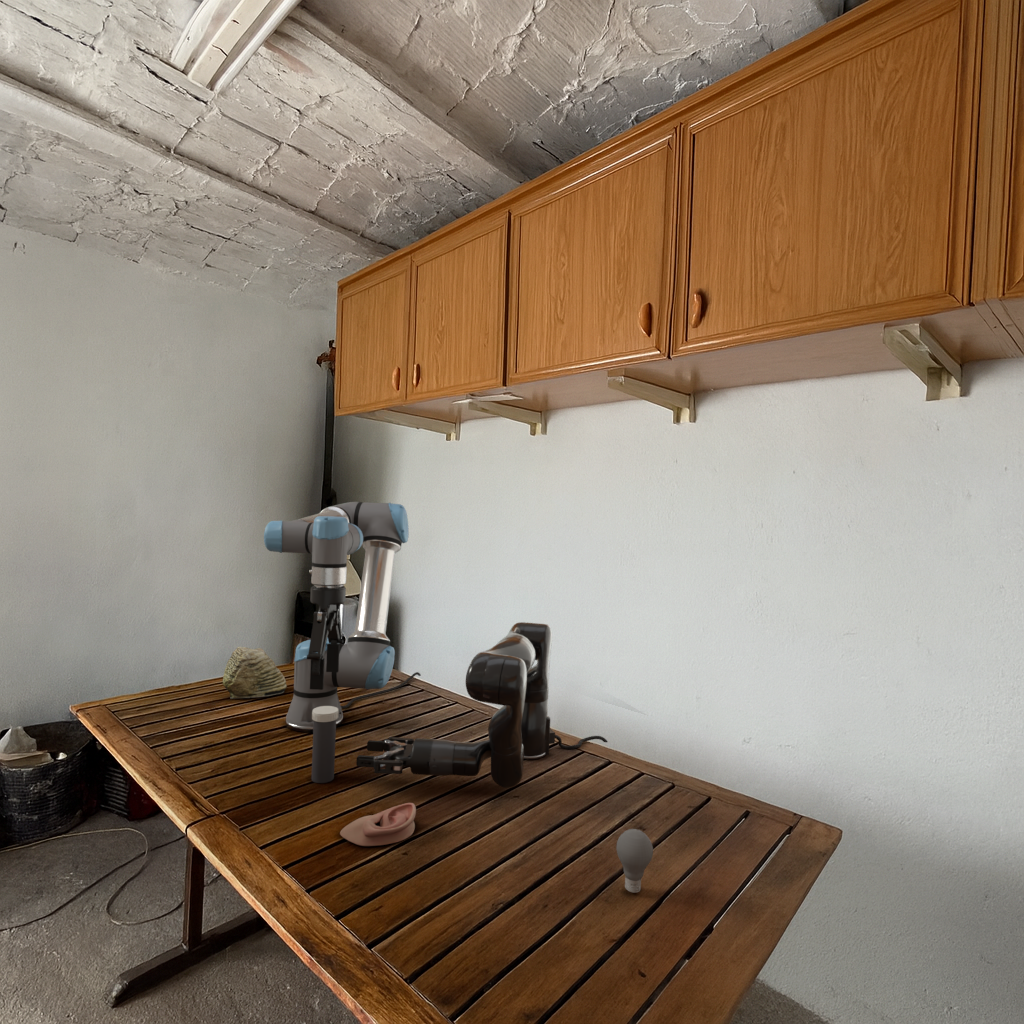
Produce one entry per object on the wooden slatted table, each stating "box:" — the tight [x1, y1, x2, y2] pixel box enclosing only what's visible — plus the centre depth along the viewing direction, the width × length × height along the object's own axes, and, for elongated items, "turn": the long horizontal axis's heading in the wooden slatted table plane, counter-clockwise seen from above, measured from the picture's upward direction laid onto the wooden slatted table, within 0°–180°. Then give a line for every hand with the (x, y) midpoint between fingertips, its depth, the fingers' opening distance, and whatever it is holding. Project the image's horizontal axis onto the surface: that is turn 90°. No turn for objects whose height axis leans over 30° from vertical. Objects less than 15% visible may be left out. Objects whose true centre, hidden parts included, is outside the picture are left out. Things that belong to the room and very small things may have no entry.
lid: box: [312, 706, 339, 722], centre depth 142 cm, size 6×6×2 cm
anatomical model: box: [339, 802, 417, 847], centre depth 121 cm, size 13×4×12 cm
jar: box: [311, 720, 337, 784], centre depth 142 cm, size 5×5×15 cm
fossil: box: [222, 646, 288, 699], centre depth 198 cm, size 9×18×15 cm, turn 132°
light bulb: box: [615, 828, 654, 894], centre depth 106 cm, size 6×6×10 cm
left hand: (324, 680), depth 142 cm, fingers open, 13 cm apart
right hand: (362, 752), depth 142 cm, fingers open, 8 cm apart
